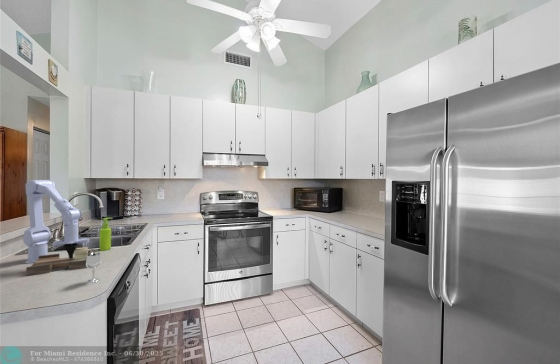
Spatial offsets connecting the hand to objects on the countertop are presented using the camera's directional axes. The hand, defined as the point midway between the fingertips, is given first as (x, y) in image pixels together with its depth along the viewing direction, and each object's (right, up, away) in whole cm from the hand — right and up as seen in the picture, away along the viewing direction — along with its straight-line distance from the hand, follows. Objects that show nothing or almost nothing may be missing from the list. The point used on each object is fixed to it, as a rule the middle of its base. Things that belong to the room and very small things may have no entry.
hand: (71, 257), depth 129 cm
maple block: (+4, -1, +2) cm, 4 cm away
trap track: (-3, -3, -1) cm, 4 cm away
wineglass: (+26, -5, -19) cm, 33 cm away
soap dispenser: (-1, -3, +27) cm, 27 cm away
